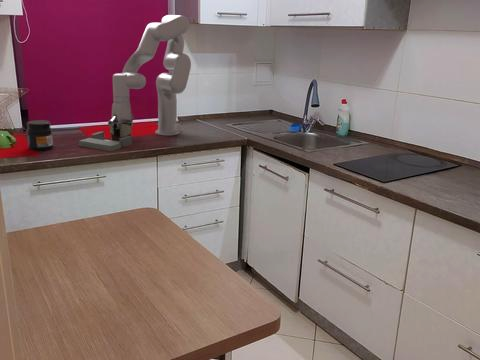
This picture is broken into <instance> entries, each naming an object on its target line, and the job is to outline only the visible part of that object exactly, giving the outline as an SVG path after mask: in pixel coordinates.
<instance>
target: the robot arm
mask: <svg viewBox="0 0 480 360" xmlns="http://www.w3.org/2000/svg"><path fill="white" fill-rule="evenodd" d="M189 29H190V20H189V19H188V17H186V16H184V15H180V14H178V15H177V14H167V15H165V16H163V17H162V18H161V22H149V23H148V24H147V25H146V27H145V30H144V32H143V34H142V37H141V39H140V42H139V44H138V46H137V49H136V51H135V52H133V54H131V56H129V58H128V60H127V61H126V62H125V64H124V67H123V68H122V72H120V73H119V72H118V73H114V74H112V94H113V95H112V97H113V99H112V101H113V103H112V105H111V119H110V123H111V126H112V127H113V129H114V136H115V137H120V129H119V126H120V124H122V123H124V122H128V121H129V120H131V121H132V122H133V121H134V115H133V114H132V109H131V102H130V90H131V89H134V90H139V89H143V88H144V87H145V86H146V84H147V80H146V77H145V75H143V74H142V73H139V72H138V71H139V69H140V68H141V67H142V66H143V64H145V63H147V62H149V61H150V60H152V59H153V58H154V57H155V55H156V53H157V49H158V47H159V44H160V42H167V43H166V47H165V48H166V49H165V53H164V57H163V63H162V65H163V67H164V68H165V69H166V70H168V71H170V72H161V73H160V74H159V75H158V76H157V77H156V80H155V85H156V86H155V88H156V93H157V112H158V113H157V114H158V115H157V117H158V118H157V119H158V127H157V129H156V130H155V134H156V135H159V136H165V137H166V136H170V137H171V136H177V135H179V134H180V130H178V128H180V127H181V124H180V123H177V97H176V95H177V94H179V95H180V94H182V93H183V92H184V91H185V90H186V88H187V85H188V81H189V76H190V72H191V69H192V60H191V58H190V57H189V55H188V54H186V53H185V52H184V48H185V39H184V38H185V37H184V35H183V34H185V33H186V32H188V30H189ZM171 72H172V73H171ZM116 124H117V126H116Z"/></svg>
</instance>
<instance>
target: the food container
mask: <svg viewBox="0 0 480 360" xmlns="http://www.w3.org/2000/svg"><path fill="white" fill-rule="evenodd" d="M110 120H111V119H110ZM110 120H108V122H107V125H109V131H110V132H109V133H110V139H111V141H117V142H119V138H123V137H126V136H132V132H133V131H132V130H133V129H132V128H133V126H134V123H133V122H132V121H131V120H129V121H128V122H124V123H122V124H120V126H119V129H120V137H115V136H114V129H113V127H112V126H111V123H110ZM116 126H117V124H116Z"/></svg>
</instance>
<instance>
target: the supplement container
mask: <svg viewBox="0 0 480 360" xmlns="http://www.w3.org/2000/svg"><path fill="white" fill-rule="evenodd" d="M26 126H27V129H26V134H27V135H26V136H27V145H28V147H27V148H29V150H31V151H34V152H35V151H36V152H40V151H41V152H42V151H49V150H51V149H53V148H54V140H53V128H52V127H51V122H50V121H49V120H45V119H40V120H38V119H36V120H31V121H27V122H26Z"/></svg>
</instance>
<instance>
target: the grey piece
mask: <svg viewBox="0 0 480 360" xmlns="http://www.w3.org/2000/svg"><path fill="white" fill-rule="evenodd" d="M90 136H91V137H87V138H83V139H80V140H78V145H79V147H84V148H89V149H95V150H101V151H105V152H106V151H107V152H115V151H116V150H119V149H120V150H121V148H126V147H129V146H132V145H133V136H132V135H131V136H126V137H123V138H119V141H112V140H110V139H105V136H106V135H105V132H104V131H98V132H95V133H91V134H90Z"/></svg>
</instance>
